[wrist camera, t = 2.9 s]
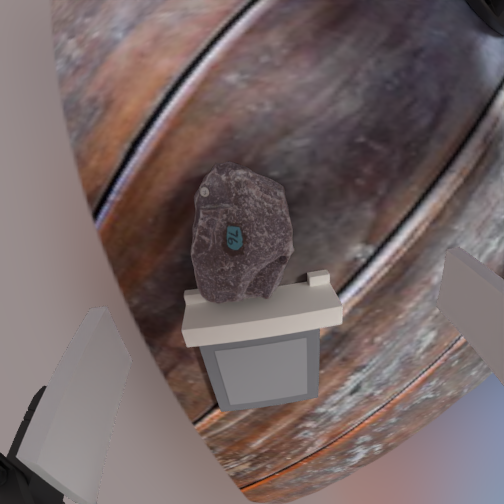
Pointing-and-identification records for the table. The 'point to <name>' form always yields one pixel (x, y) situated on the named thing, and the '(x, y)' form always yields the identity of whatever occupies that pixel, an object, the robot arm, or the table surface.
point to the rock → (239, 234)
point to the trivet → (264, 370)
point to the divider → (262, 313)
